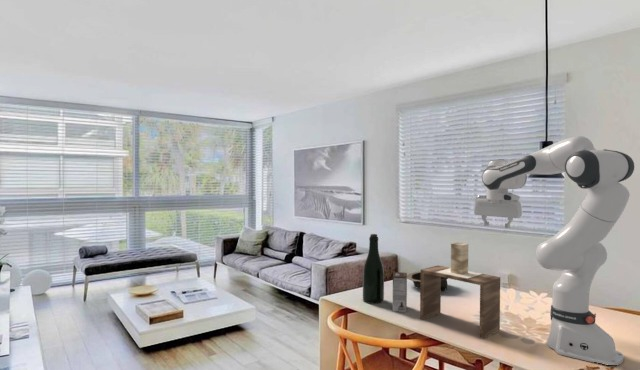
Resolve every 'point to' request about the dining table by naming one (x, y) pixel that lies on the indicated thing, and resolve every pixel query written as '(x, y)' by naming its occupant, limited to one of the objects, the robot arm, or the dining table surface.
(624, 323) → the dining table surface
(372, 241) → the green wine bottle
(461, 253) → the maple block
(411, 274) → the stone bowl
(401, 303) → the coffee box
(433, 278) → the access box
